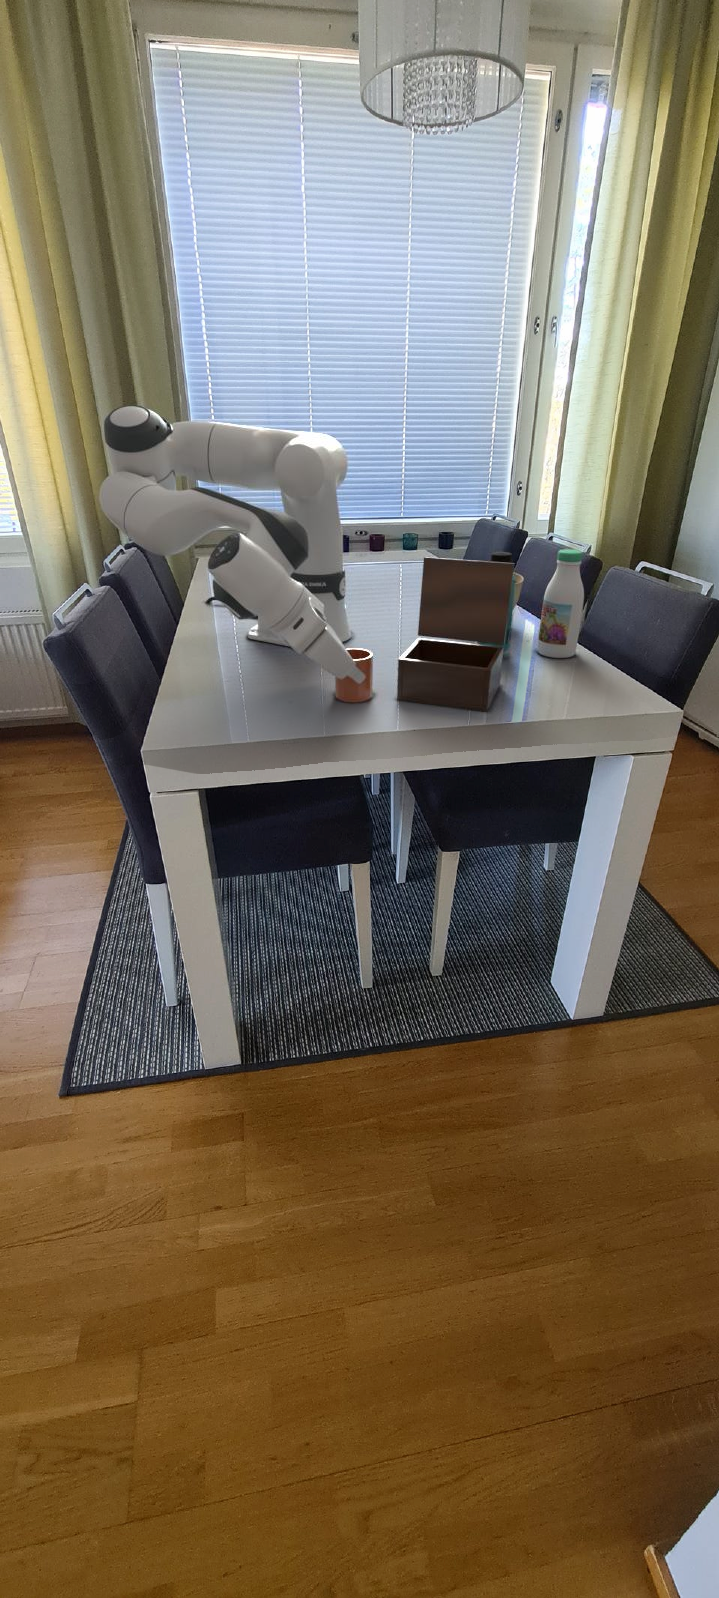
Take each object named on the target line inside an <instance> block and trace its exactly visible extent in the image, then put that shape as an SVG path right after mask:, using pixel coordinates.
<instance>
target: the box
mask: <svg viewBox="0 0 719 1598" xmlns="http://www.w3.org/2000/svg"><path fill="white" fill-rule="evenodd" d="M503 649H504V647H499V646H490V645H481V644H478V643H470V642H461V641H451V640H441V639H432V638H422V637H417V639H416V640H414V642H413V643H412V644H411V645H410V646H409V647H408V648H407V649H406V650H405V651H404V652H403V653H402V654H401V656H400V657H399V658H398V659H397V689H396V690H397V691H396V700H397V701H403V702H404V701H405V702H411V703H412V702H413V703H417V704H418V703H419V704H426V705H435V706H441V707H449V708H457V709H464V710H471V711H472V710H473V711H480V712H488V710H489V708H490V706H491V704H492V702H493V700H494V698H495V695H496V693H497V691H498V689H499V688H500V686H501V675H502V667H503V656H504V652H503Z"/></svg>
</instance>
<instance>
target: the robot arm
mask: <svg viewBox="0 0 719 1598" xmlns="http://www.w3.org/2000/svg"><path fill="white" fill-rule="evenodd" d="M103 433H104V434H103V435H104V441H105V444H106V446H107V449H108V455H109V459H110V463H111V468H112V471H113V473H111V474H109V475H108V476H107V477H106V478H105V479H104V480H103V482H102V483H101V485H100V489H99V493H98V498H99V501H98V502H99V505H100V508H101V511H102V512H103V514H104V516H106V517H107V519H108V520H109V521H110V523H112V524H113V525H114V527H116V529H118V530H119V531H120V532H121V533H122V534H123V535H124V536H125V537H126V538H128V539H129V540H131V541H132V542H134V543H135V544H136V545H137V546H139V547H141V549H144V550H146V551H147V552H149V553H151V554H154V555H157V556H164V557H166V556H167V557H169V556H174V555H178V554H180V553H182V552H184V551H186V550H188V549H189V548H190V547H192V546H193V545H194V544H195V543H196V542H198V541H200V539H202V538H203V537H204V536H206V535H207V534H209V533H211V532H212V531H214V530H217V529H219V528H222V527H226V528H230V529H233V530H235V531H239V532H235V533H231V534H229V535H227V536H226V537H225V538H224V539H222V540H221V541H220V542H219V543H218V544H217V545H216V546H215V548H214V549H213V550H212V552H211V554H210V557H209V558H208V561H207V570H208V572H209V573H210V574H211V576H212V577H213V579H212V590H213V591H212V592H213V596H211V597H209V598H208V599H207V600H206V601H205V604H210V603H212V602H213V601H217V602H220V603H221V604H223V606H225V607H226V608H227V609H228V610H229V611H230V612H231V613H232V614H233V615H234V616H235V617H236V618H237V619H238V620H239V621H240V620H241V621H242V620H249V619H257V624H255V625H254V626H252V627H251V628H249V630H248V631H247V637H248V639H250V640H253V641H254V640H255V641H259V642H260V641H261V642H265V643H270V644H275V645H280V646H286V647H290V648H292V650H294V651H295V652H296V653H297V654H299V655H302V654H304V655H306V656H307V657H308V658H309V659H310V660H311V661H313V662H314V663H316V665H318V666H320V667H321V668H322V669H324V670H325V671H327V672H328V673H329V674H330V675H331V676H333V677H334V678H335V677H337V678H339V679H344V678H345V677H346V676H349V677H351V678H352V679H354V680H355V681H356V682H357V683H361V682H362V681H363V680H364V679H365V678H366V676H365V674H364V673H363V672H362V671H361V670H360V669H359V668H357V667H356V666H355V665H356V664H355V662H354V660H353V659H352V657H351V656H350V654H349V653H348V651H347V650H346V649H347V648H346V646H345V645H344V642H346V641H348V640H350V639H351V638H352V633H351V632H352V631H351V630H350V625H349V621H348V616H347V610H346V609H347V605H346V599H345V598H346V594H347V593H346V592H347V579H346V569H344V529H343V526H342V523H341V517H340V510H339V504H338V493H337V489H339V488H340V487H341V485H342V484H343V483H344V481H345V480H346V477H347V474H348V466H349V463H348V456H347V452H346V450H345V449H344V447H343V446H342V444H341V443H340V442H339V441H338V440H337V439H335V438H334V437H332V436H331V435H328V434H324V433H317V432H316V433H315V432H308V431H298V430H287V429H277V428H268V427H267V428H265V427H257V426H248V425H241V424H233V423H227V422H226V423H225V422H219V421H209V420H185V421H176V422H173V423H170V421H169V420H167V418H165V417H163V416H161V415H159V414H158V413H156V412H155V411H153V410H151V409H149V408H146V407H144V406H141V405H135V404H129V405H123V406H120V407H117V408H114V409H113V410H112V411H111V412H110V413H109V414H108V415H107V416H106V417H105V418H104V422H103ZM177 477H184V478H185V477H186V478H188V479H192V480H195V481H199V482H203V483H207V484H212V485H220V486H225V487H232V488H233V487H234V488H240V489H247V490H254V491H278V492H280V497H281V501H282V502H281V503H282V506H283V507H282V508H283V511H281V510H278V509H274V508H273V509H272V508H264V507H261V506H258V505H256V504H253V503H249V502H247V501H244V500H241V499H238V498H236V497H233V496H231V495H228V494H225V493H221V492H219V491H216V490H212V489H210V488H206V487H203V486H202V487H201V486H195V487H191V488H189V489H183V490H177V481H176V478H177ZM243 533H244V534H245V535H244V534H243Z"/></svg>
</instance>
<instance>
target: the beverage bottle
mask: <svg viewBox="0 0 719 1598" xmlns="http://www.w3.org/2000/svg"><path fill="white" fill-rule="evenodd" d="M489 562H503V563H513V554H512V553H511V552H507V551H494V552H492V553H491V554H490V560H489ZM515 581H516V577H515V575H514V574H513V579H512V587H511V595H510V603H509V611H508V619H507V627H506V635H505V642H504V644H494V643H484V642H477V644H481V645H490V646H499V647H504V649H503V653H506V652H508V651H509V649H510V646H511V639H512V629H513V627H512V626H513V619H514V618H513V617H514V612H513V611H514V609H513V604H514V590H515Z"/></svg>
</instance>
